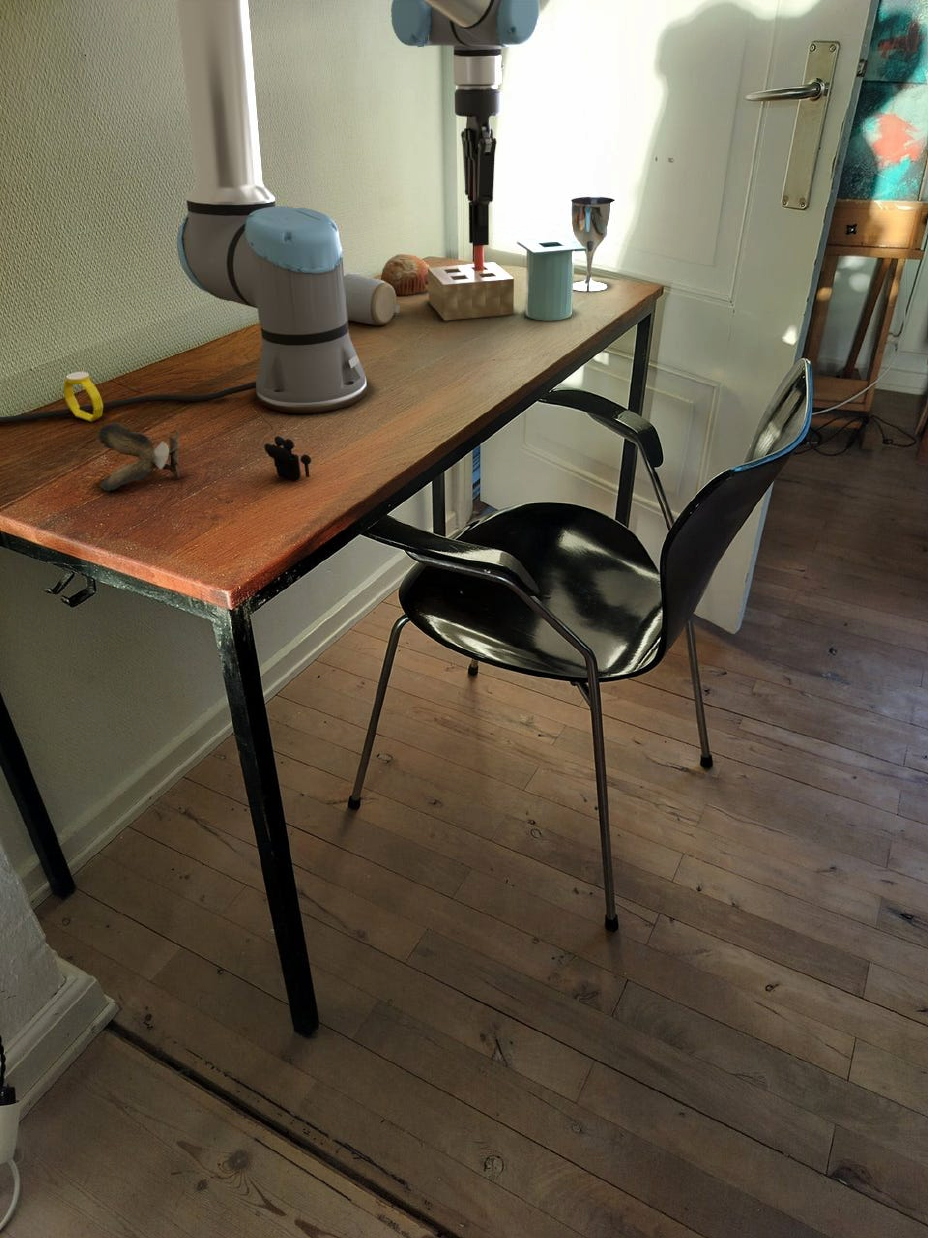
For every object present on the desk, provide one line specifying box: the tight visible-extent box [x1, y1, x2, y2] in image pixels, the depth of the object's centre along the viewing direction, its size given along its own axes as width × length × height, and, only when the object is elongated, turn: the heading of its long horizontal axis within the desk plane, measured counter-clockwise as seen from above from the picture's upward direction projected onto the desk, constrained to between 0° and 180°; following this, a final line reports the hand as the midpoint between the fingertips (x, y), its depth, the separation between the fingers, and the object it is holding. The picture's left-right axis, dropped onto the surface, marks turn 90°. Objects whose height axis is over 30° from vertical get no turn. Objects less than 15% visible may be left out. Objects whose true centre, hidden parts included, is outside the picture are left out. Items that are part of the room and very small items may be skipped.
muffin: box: [380, 253, 431, 296], centre depth 171 cm, size 10×10×8 cm
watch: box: [62, 371, 104, 423], centre depth 118 cm, size 6×3×6 cm, turn 58°
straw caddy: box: [427, 262, 515, 321], centre depth 158 cm, size 12×12×6 cm
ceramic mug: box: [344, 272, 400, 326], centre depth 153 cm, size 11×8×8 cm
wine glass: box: [569, 196, 616, 292], centre depth 166 cm, size 8×8×15 cm
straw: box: [473, 179, 485, 271], centre depth 156 cm, size 2×2×19 cm
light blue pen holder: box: [525, 244, 576, 322], centre depth 153 cm, size 8×8×11 cm
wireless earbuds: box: [264, 435, 312, 482], centre depth 102 cm, size 7×2×5 cm, turn 55°
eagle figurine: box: [97, 422, 181, 492], centre depth 102 cm, size 8×7×9 cm
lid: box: [516, 236, 586, 255], centre depth 150 cm, size 9×9×1 cm
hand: (478, 243), depth 157 cm, fingers closed on straw, 2 cm apart
